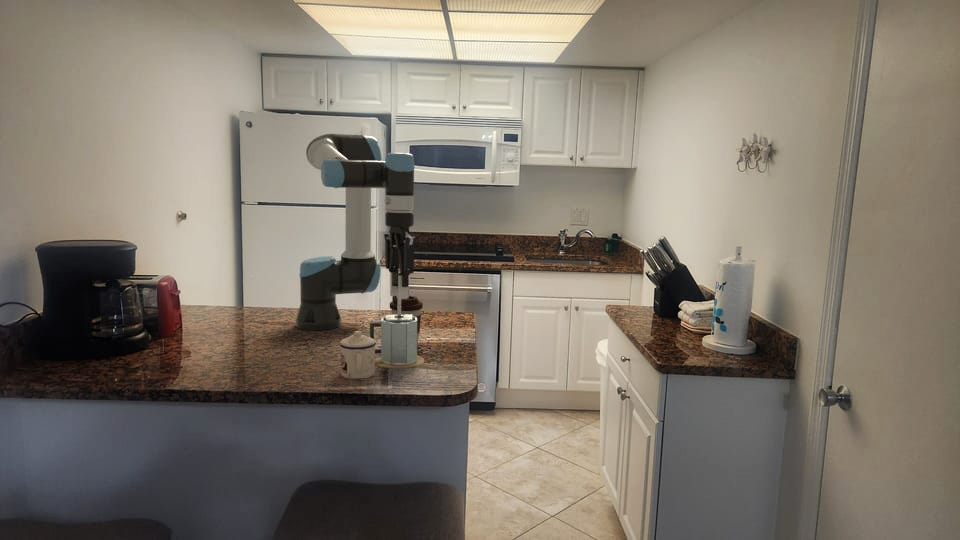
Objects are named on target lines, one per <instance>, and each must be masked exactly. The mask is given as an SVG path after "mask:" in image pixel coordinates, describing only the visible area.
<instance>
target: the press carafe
mask: <svg viewBox="0 0 960 540" xmlns="http://www.w3.org/2000/svg"><path fill="white" fill-rule="evenodd" d="M397 322H401V323H397ZM375 328H380V348H375V354H380V356H381V362H382V363H383V364H386V365H390V366H406V365H411V364H414V363H416V362H417V355H418V345H417V317H413V316H412V315H401V318H397V315H392V314H386V315H385V316H381V319H380V321H379V322H377V321H376V322H374V321H373V322H369V337H370V338H373V339H374V340H375Z"/></svg>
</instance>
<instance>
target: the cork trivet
mask: <svg viewBox="0 0 960 540" xmlns="http://www.w3.org/2000/svg"><path fill="white" fill-rule="evenodd" d="M424 362H425V359H424V357H422V356H420V355H418V354H417V362H416V363H414V364H411V365H406V366H390V365H386V364H383V363H382V362H381V355H380V356H377V357H375V366H379V367H381V368H386V369H410V368H414V367H419V366H420V365H422V364H424Z"/></svg>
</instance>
